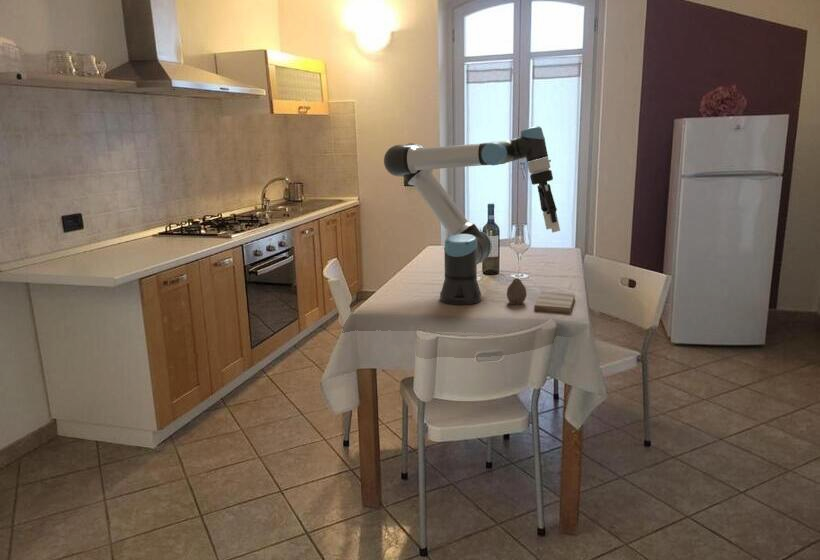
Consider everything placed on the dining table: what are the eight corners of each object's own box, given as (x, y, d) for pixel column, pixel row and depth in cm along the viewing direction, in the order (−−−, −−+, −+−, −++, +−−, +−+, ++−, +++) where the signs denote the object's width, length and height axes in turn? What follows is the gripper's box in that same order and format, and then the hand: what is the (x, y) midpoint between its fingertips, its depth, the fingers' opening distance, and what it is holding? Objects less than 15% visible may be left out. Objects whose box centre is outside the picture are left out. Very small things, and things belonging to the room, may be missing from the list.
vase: (529, 304, 219) (530, 280, 217) (511, 306, 217) (512, 282, 215) (520, 299, 225) (521, 276, 223) (503, 301, 224) (503, 278, 221)
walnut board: (570, 313, 208) (570, 307, 208) (534, 310, 212) (534, 305, 211) (574, 299, 225) (574, 294, 224) (541, 296, 228) (541, 291, 228)
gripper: (556, 168, 204) (569, 230, 207) (545, 169, 229) (557, 225, 232) (534, 173, 205) (547, 235, 208) (525, 174, 230) (538, 229, 233)
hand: (553, 230), depth 220 cm, fingers open, 13 cm apart
